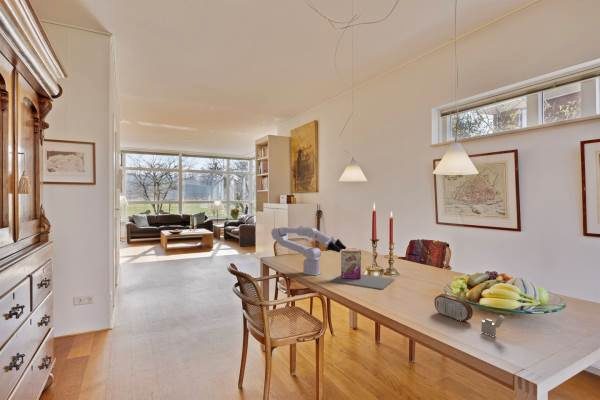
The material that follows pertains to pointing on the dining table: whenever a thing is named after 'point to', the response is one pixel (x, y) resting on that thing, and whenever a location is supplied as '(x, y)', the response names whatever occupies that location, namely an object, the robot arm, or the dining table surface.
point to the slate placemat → (365, 281)
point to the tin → (453, 307)
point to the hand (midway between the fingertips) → (342, 249)
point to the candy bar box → (350, 264)
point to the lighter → (491, 325)
